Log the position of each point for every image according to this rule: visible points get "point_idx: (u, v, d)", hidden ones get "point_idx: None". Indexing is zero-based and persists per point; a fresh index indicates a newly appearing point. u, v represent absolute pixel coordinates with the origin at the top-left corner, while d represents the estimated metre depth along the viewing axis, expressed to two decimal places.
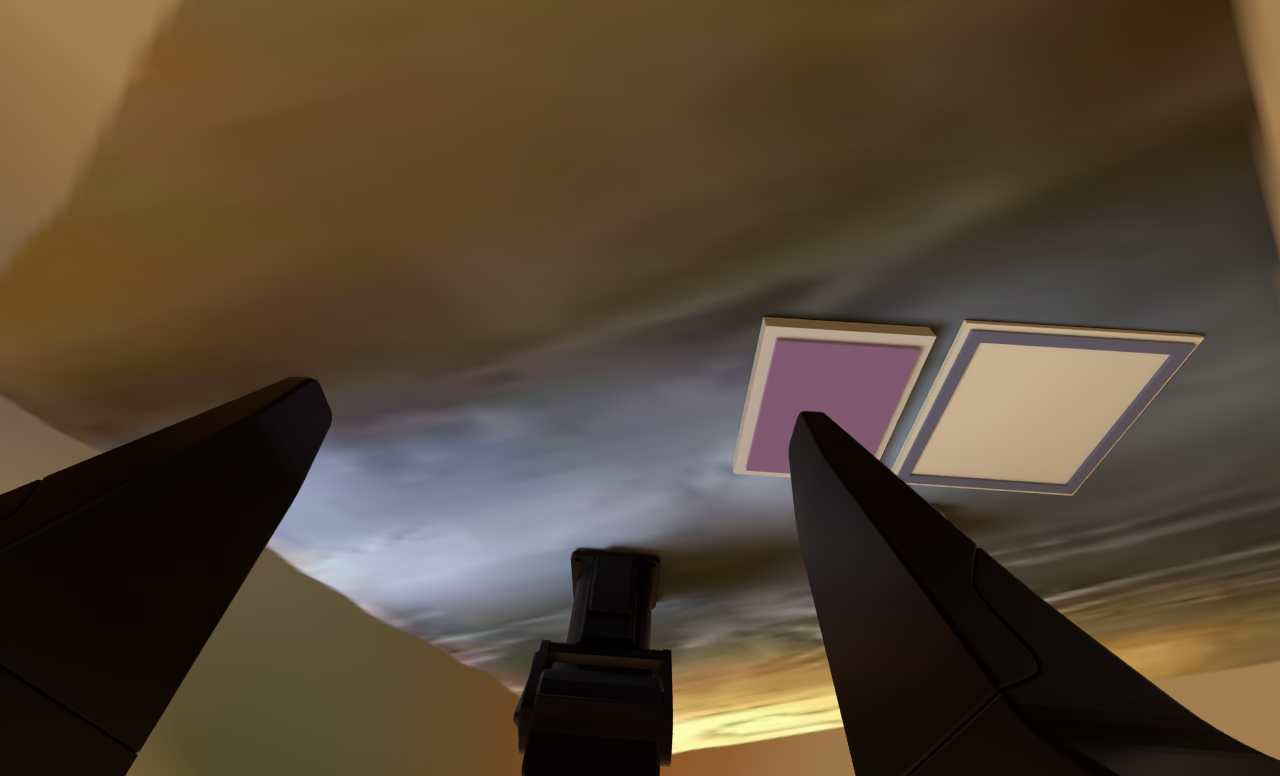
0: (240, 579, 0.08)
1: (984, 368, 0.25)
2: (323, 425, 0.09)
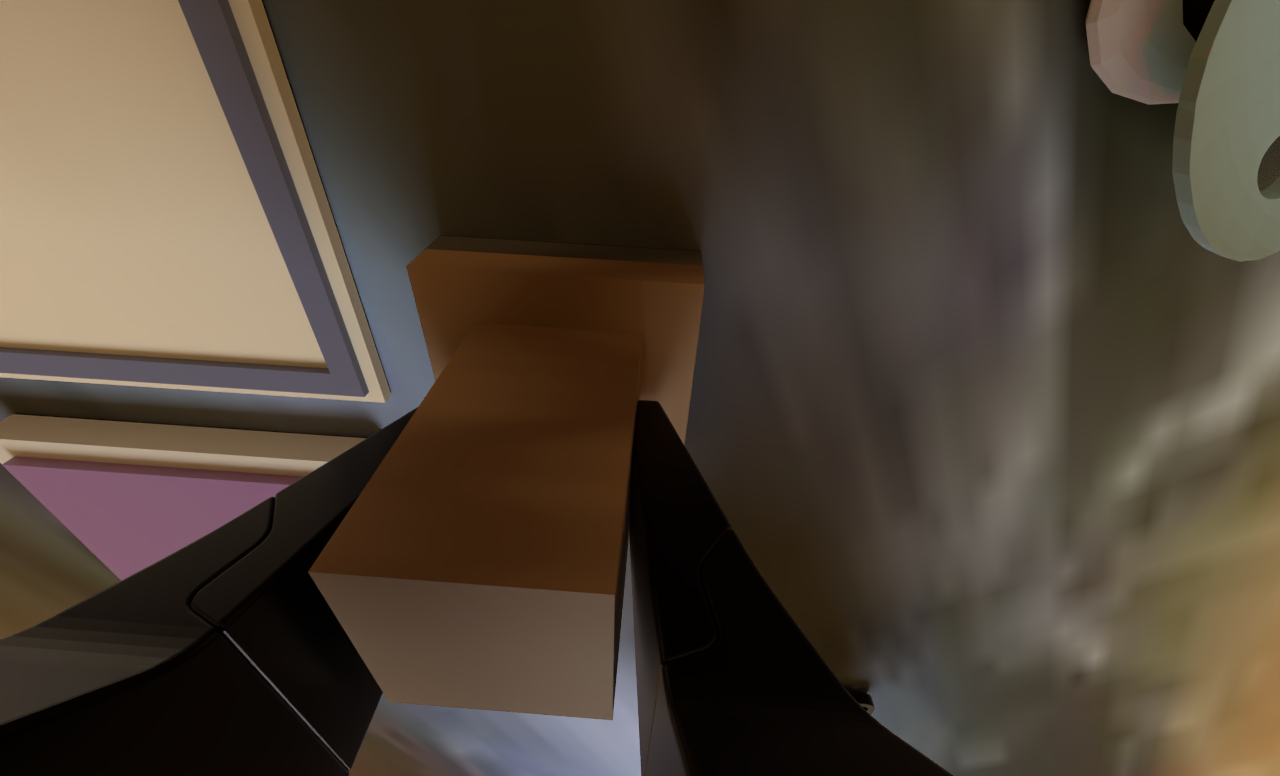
0: None
1: None
2: None
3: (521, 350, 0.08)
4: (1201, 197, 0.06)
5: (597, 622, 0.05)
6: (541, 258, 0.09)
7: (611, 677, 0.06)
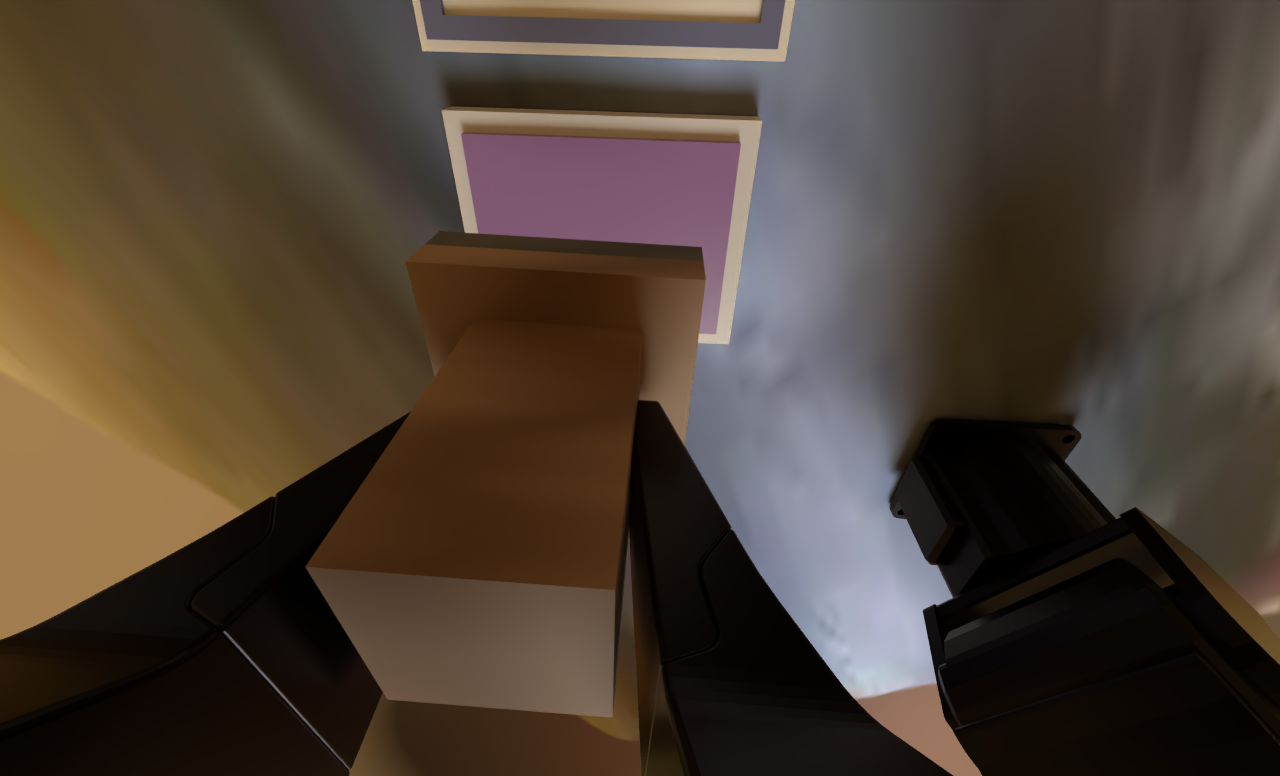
0: None
1: None
2: None
3: (521, 346, 0.08)
4: None
5: (597, 618, 0.05)
6: (541, 254, 0.09)
7: (611, 674, 0.06)
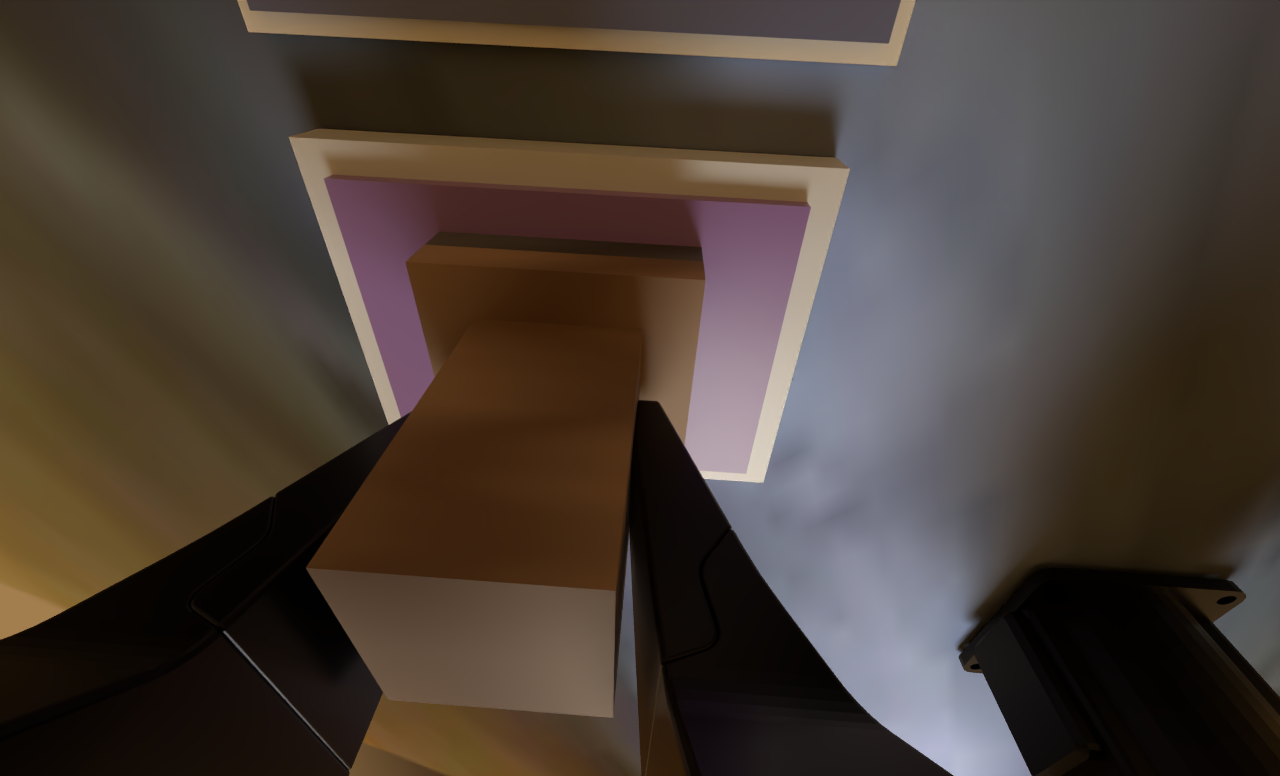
0: None
1: None
2: None
3: (521, 346, 0.08)
4: None
5: (598, 618, 0.05)
6: (541, 254, 0.09)
7: (612, 674, 0.06)
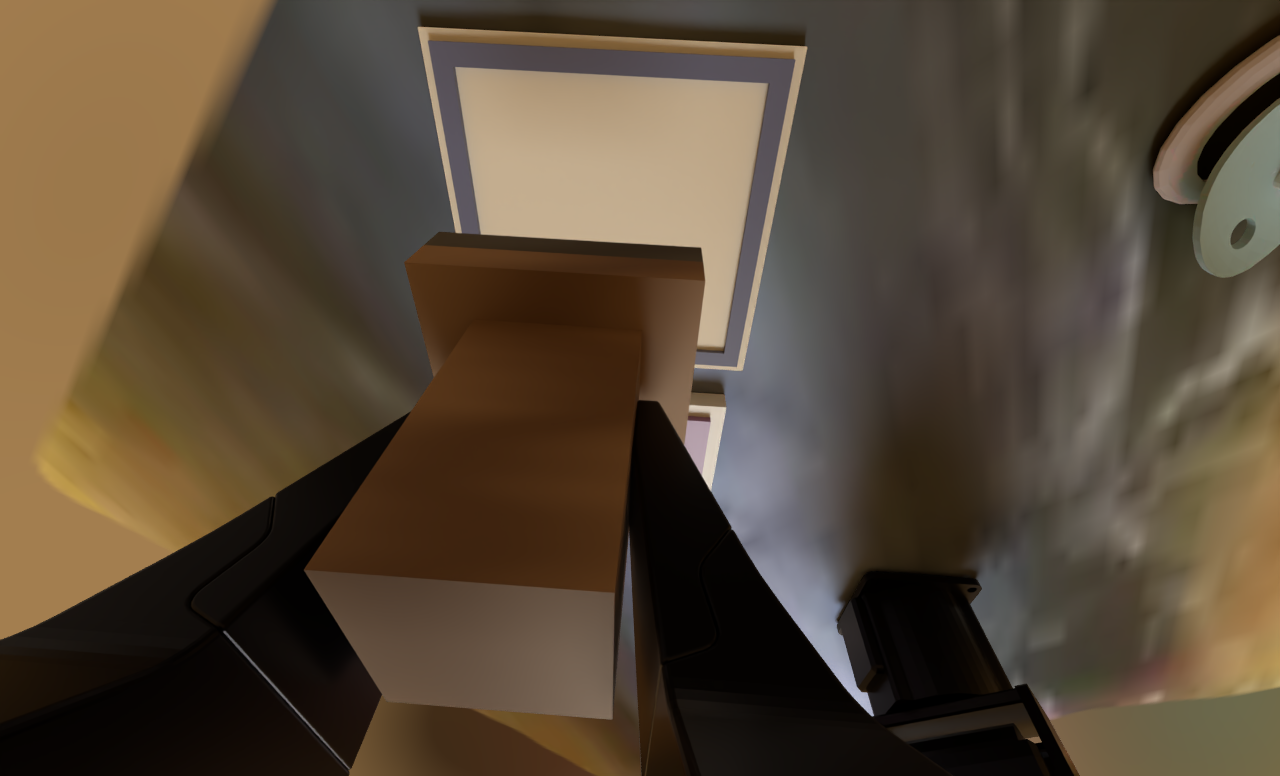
0: None
1: None
2: None
3: (520, 347, 0.08)
4: (1205, 250, 0.15)
5: (596, 620, 0.05)
6: (540, 255, 0.09)
7: (611, 676, 0.06)
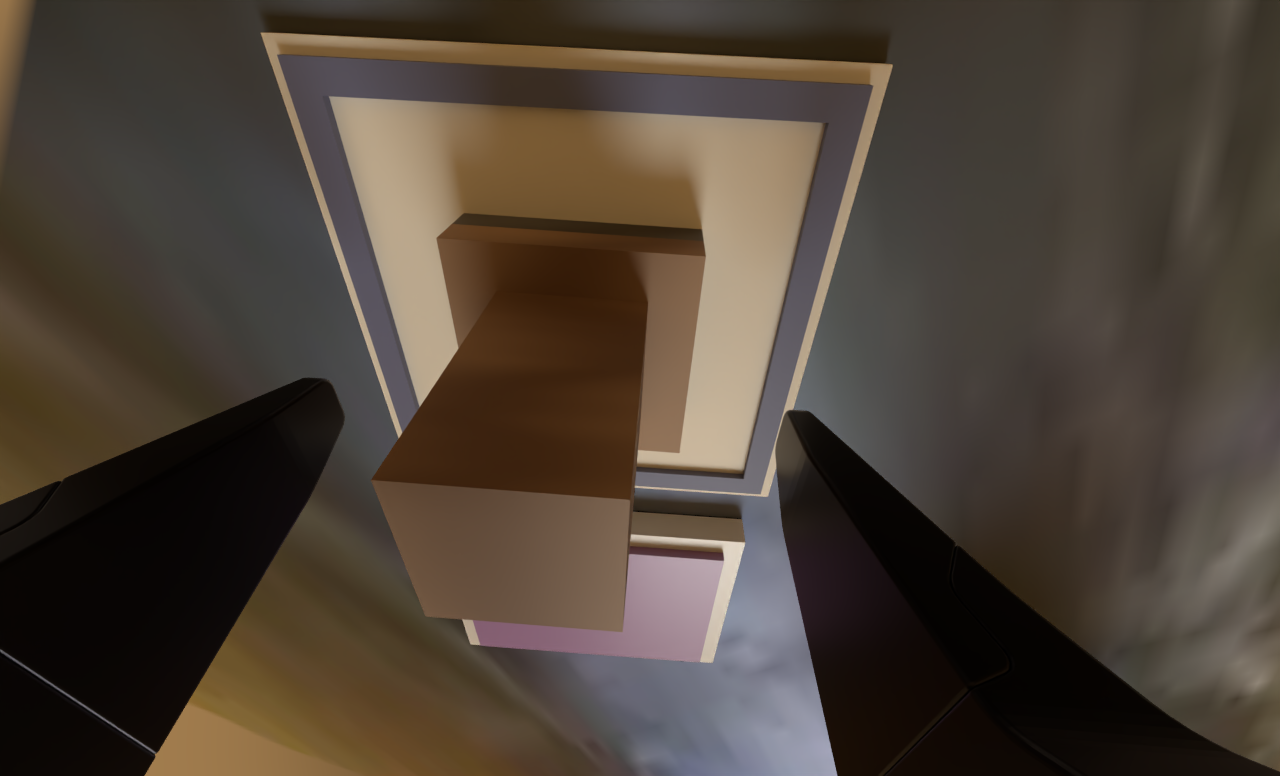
0: (255, 580, 0.08)
1: None
2: (336, 426, 0.09)
3: (540, 314, 0.09)
4: None
5: (614, 528, 0.06)
6: (558, 233, 0.10)
7: (623, 586, 0.07)
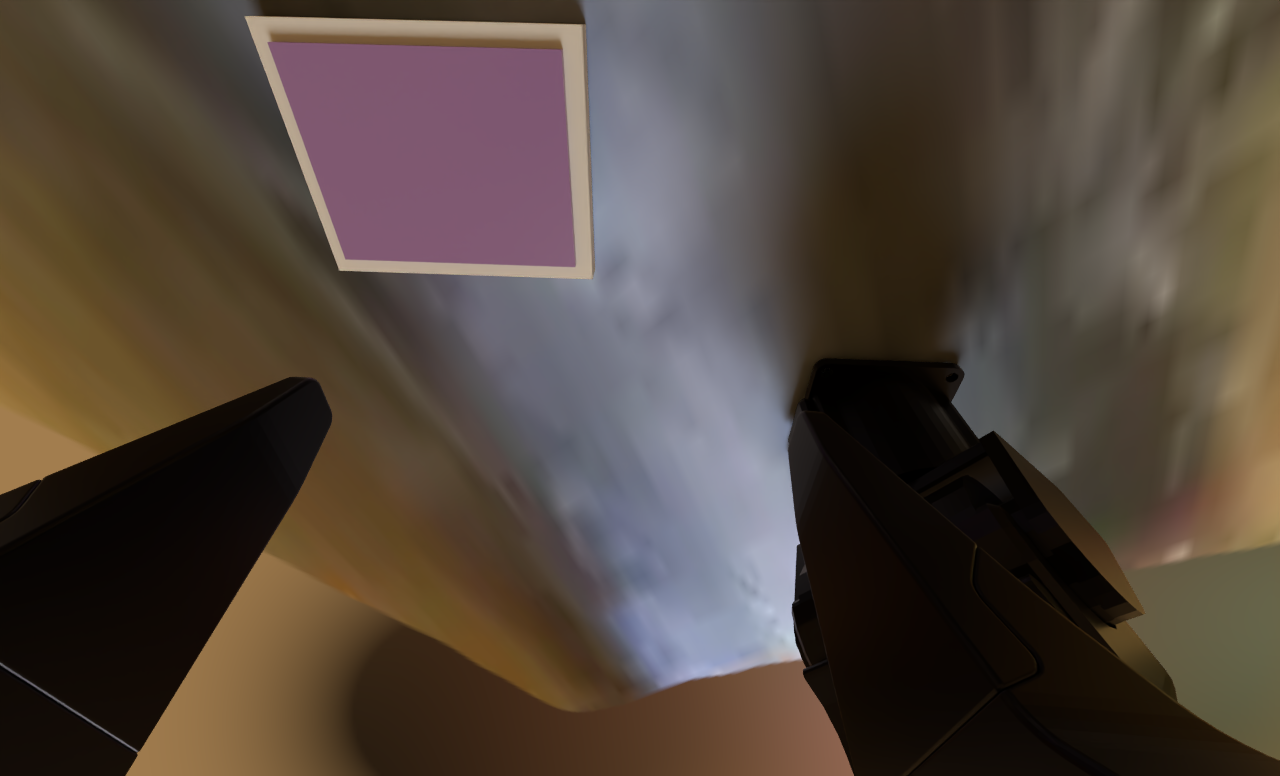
0: (240, 579, 0.08)
1: None
2: (323, 425, 0.09)
3: None
4: None
5: None
6: None
7: None
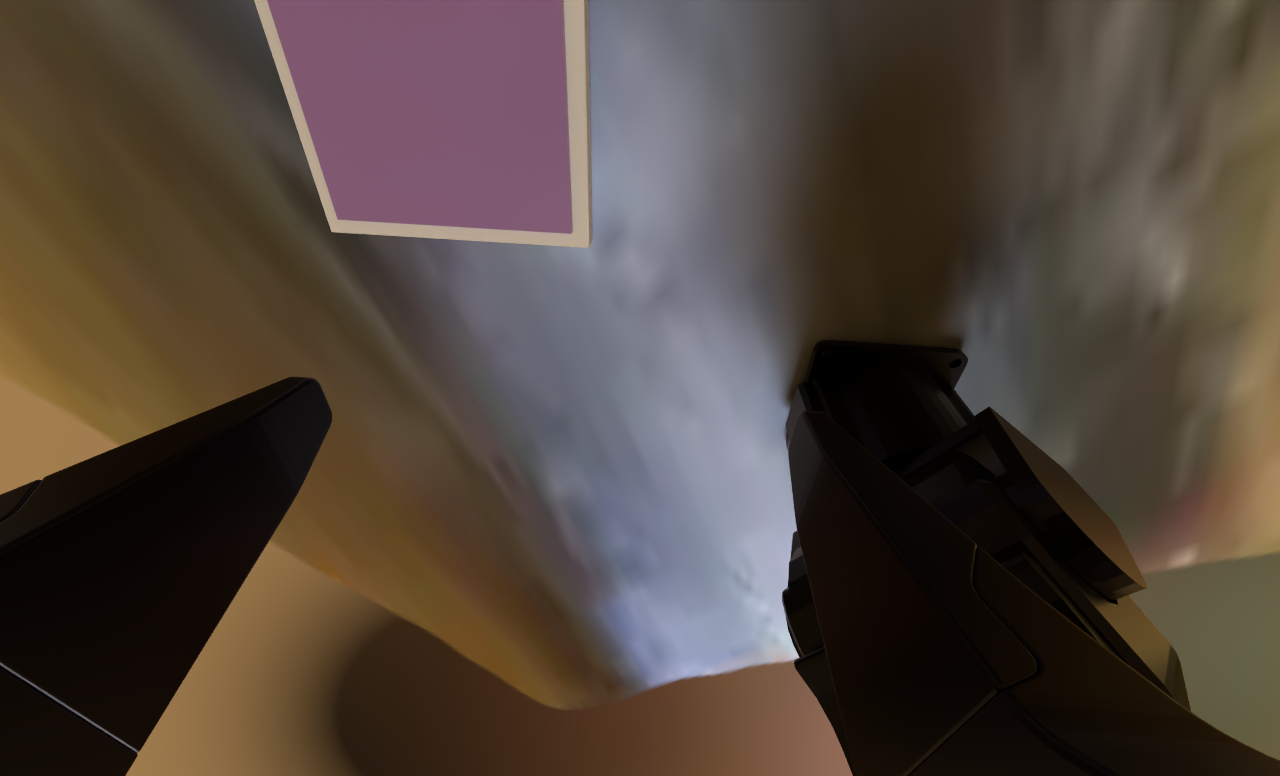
0: (240, 578, 0.08)
1: None
2: (323, 425, 0.09)
3: None
4: None
5: None
6: None
7: None
